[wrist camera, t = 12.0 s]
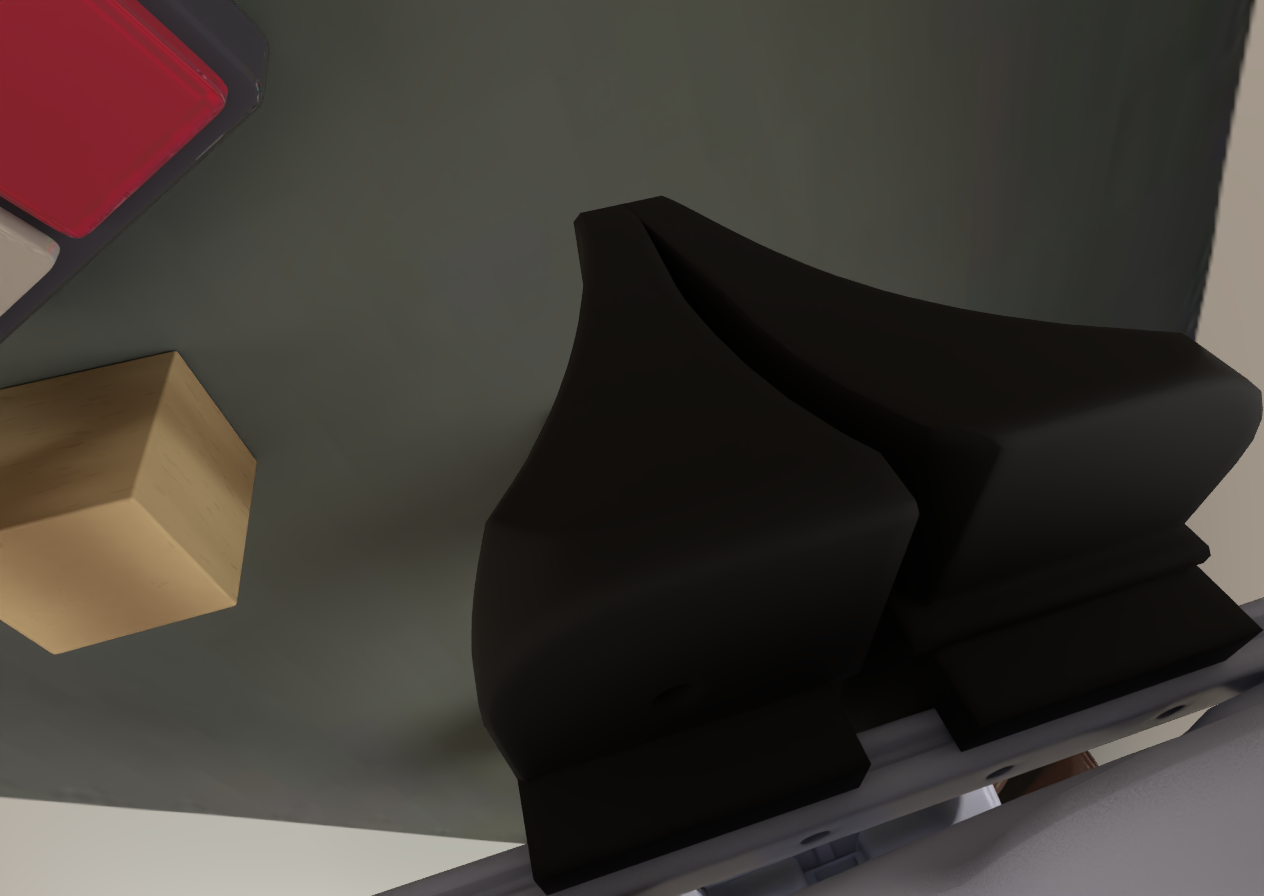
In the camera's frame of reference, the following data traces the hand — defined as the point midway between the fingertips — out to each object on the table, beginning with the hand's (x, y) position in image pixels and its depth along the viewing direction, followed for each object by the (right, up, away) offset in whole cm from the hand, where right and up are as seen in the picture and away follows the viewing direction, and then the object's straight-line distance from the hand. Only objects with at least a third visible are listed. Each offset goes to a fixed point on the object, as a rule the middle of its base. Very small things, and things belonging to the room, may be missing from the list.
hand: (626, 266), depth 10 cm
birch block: (-16, -2, +11) cm, 19 cm away
